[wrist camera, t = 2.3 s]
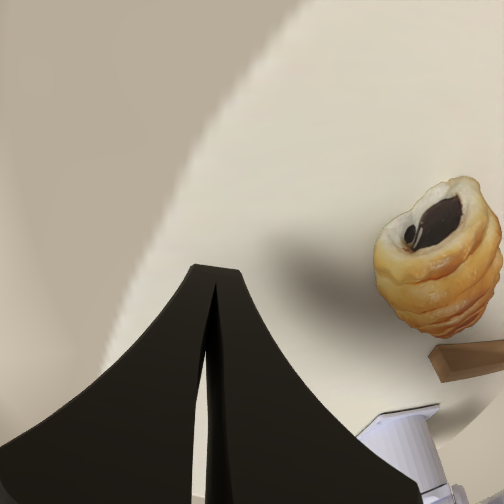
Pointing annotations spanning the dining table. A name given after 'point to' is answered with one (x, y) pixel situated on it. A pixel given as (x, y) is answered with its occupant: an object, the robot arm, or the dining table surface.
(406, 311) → the pastry
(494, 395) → the dining table surface
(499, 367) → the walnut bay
